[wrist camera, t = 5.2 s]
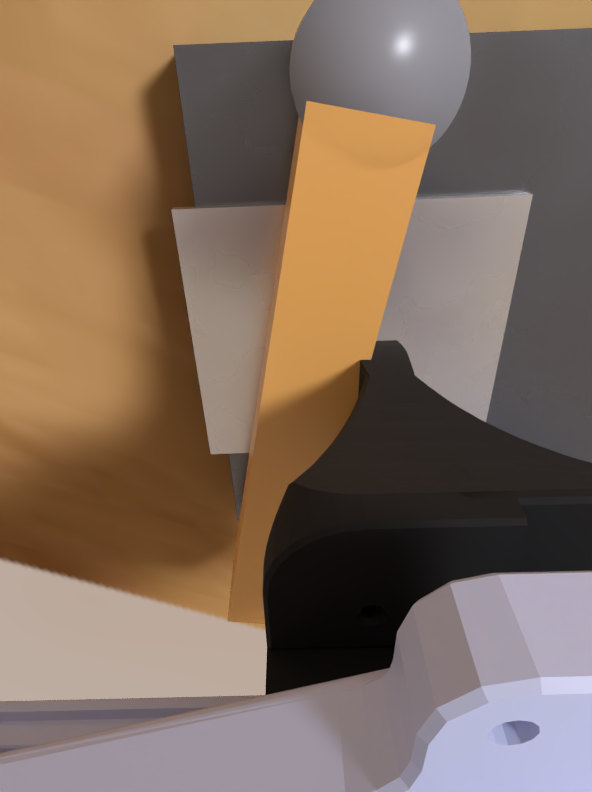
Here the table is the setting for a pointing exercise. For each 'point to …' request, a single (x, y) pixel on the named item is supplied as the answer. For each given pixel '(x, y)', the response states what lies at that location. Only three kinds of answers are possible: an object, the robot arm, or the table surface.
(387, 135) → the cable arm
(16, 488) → the table surface
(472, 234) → the psu panel
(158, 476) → the table surface
